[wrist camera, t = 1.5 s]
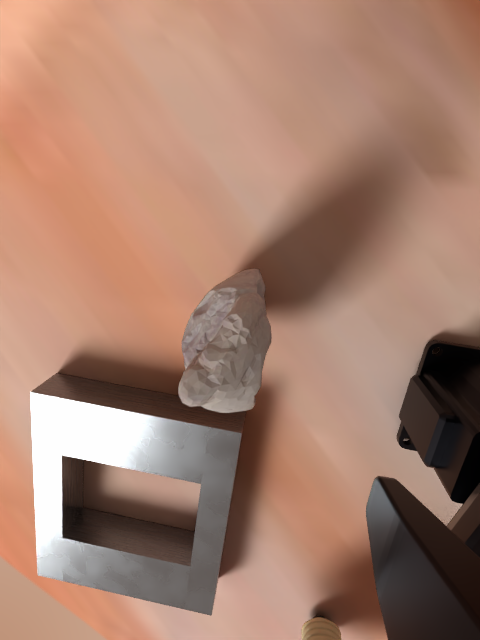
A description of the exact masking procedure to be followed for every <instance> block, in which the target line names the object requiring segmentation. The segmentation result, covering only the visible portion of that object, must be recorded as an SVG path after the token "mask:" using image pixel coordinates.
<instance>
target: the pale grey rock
mask: <svg viewBox="0 0 480 640" xmlns="http://www.w3.org/2000/svg"><path fill="white" fill-rule="evenodd" d="M264 292H265V284H264V282H263V279H262V276H261V273H260V270H258V269H248V270H244V271H241V272H239V273H237V274H235V275H233V276H231V277H230V278H228V279H226V280H225V281H223V282H222V283H220V284H218V285H216V286H215V287H214V288H213V289H211V290H210V291H209V292H208V293H207V294H206V296H205V297H204V298H203V299H202V301H201V302H200V303H199V305H198V306H197V308H196V309H195V310H194V312H193V313H192V315H191V317H190V319H189V321H188V324H187V326H186V329H185V332H184V336H183V339H182V352H183V355H184V365H185V369H186V370H185V371H184V373H183V376H182V378H181V380H180V382H179V387H178V393H179V397H180V399H181V401H182V403H184V404H186V405H188V406H190V407H194V406H202V407H203V408H205V409H208V410H212V411H216V412H220V413H231V412H239V411H246V410H250V409H252V408H253V406H254V405H255V401H256V399H255V398H254V396H255V395H256V394H257V392H258V390H259V389H260V387H261V379H262V369H263V365H264V360H265V356H266V353H267V350H268V348H269V346H270V344H271V338H272V337H271V326H270V323H269V321H268V318H267V316H266V306H265V298H264Z"/></svg>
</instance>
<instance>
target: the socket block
mask: <svg viewBox="0 0 480 640" xmlns="http://www.w3.org/2000/svg"><path fill="white" fill-rule="evenodd" d="M30 397H31V422H32V447H33V472H34V497H35V522H36V547H37V572H38V575H39V576H44V577H48V578H52V579H56V580H61V581H65V582H69V583H74V584H78V585H82V586H87V587H91V588H95V589H99V590H104V591H108V592H112V593H117V594H121V595H125V596H130V597H134V598H138V599H142V600H147V601H151V602H155V603H160V604H164V605H168V606H172V607H177V608H181V609H185V610H190V611H194V612H198V613H203V614H207V615H212V610H213V605H214V599H215V594H216V588H217V583H218V577H219V571H220V565H221V559H222V553H223V547H224V541H225V535H226V529H227V523H228V517H229V511H230V505H231V499H232V493H233V487H234V481H235V475H236V469H237V463H238V457H239V451H240V445H241V439H242V433H243V427H244V421H245V415H246V411H239V412H231V413H220V412H216V411H212V410H208V409H205V408H203V407H202V406H194V407H190V406H188V405H186V404H184V403H182V401H181V399H180V397H179V396H175V395H170V394H165V393H159V392H154V391H149V390H144V389H138V388H133V387H128V386H122V385H117V384H112V383H107V382H101V381H96V380H91V379H86V378H80V377H75V376H70V375H64V374H59V373H56V374H55V375H53V376H52V377H51V378H49V379H48V380H46V381H45V382H44V383H42V384H41V385H40V386H38V387H37V388H35V389H34V390H33V391H31V392H30ZM83 460H88V461H93V462H98V463H103V464H108V465H112V466H117V467H122V468H127V469H132V470H137V471H142V472H146V473H151V474H156V475H161V476H166V477H171V478H175V479H180V480H185V481H190V482H195V483H200V484H201V489H200V497H199V504H198V512H197V520H196V527H195V532H193V531H188V530H184V529H179V528H174V527H170V526H165V525H161V524H156V523H151V522H147V521H142V520H137V519H133V518H128V517H124V516H119V515H114V514H110V513H105V512H100V511H96V510H91V509H87V508H83Z"/></svg>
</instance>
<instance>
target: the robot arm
mask: <svg viewBox="0 0 480 640" xmlns="http://www.w3.org/2000/svg"><path fill="white" fill-rule="evenodd" d="M437 347H439V348H440V350H439V352H438V353H436V354H433V353H432V351H433V349H435V348H437ZM399 418H400V420H401V424H400V427H399V430H398V433H397V441H398V443H399V445H400V446H401V447H402V448H405V449H409V450H414V451H418V453H419V455H420V457H421V459H422V461H423V462H424V464H425V465H426V466H427V467H431V468H434V470H435V472H436V473H437V475H438V477H439V479H440V480H441V482H442V484H443V486H444V488H445V489H446V491H447V493H448V495H449V497H450V498H451V500H452V501H454V502H456V503H461V504H463V505H462V506H461V508H460V509H459V510H458V512H457V513H456V514H455V516H454V517H453V518H452V520H451V521H450V522H449V524H448V525H447V526H445V525H444V524H443V523H442V522H441V521H440V520H439V519H438V518H437V517H436V516H435V515H434V514H433V513H432V512H431V511H429V510H428V509H427V508H426V507H425V506H424V505H423V504H422V503H421V502H420V501H419V500H418V499H417V498H416V497H415V496H413V495H412V494H411V493H410V492H409V491H408V490H407V489H406V488H405V487H404V486H403V485H402V484H401V483H400V482H398V481H397V480H396V479H394V478H389V477H382V476H378V477H376V478H375V479H374V482H373V485H372V488H371V492H370V495H369V498H368V502H367V506H366V518H367V526H368V533H369V540H370V548H371V555H372V563H373V570H374V577H375V583H376V590H377V594H378V599H379V604H380V608H381V612H382V616H383V620H384V624H385V629H386V633H387V637H388V640H480V348H479V347H473V346H468V345H462V344H456V343H450V342H444V341H438V340H433V341H431V342H429V343H428V344H427V345H426V346H425V349H424V352H423V355H422V358H421V361H420V364H419V367H418V371H417V374H416V375H414V376H413V377H412V378H411V379H410V382H409V385H408V389H407V392H406V395H405V398H404V401H403V405H402V408H401V411H400V414H399ZM405 438H410V439H409V440H408V441H403V440H404V439H405Z"/></svg>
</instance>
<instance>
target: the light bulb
mask: <svg viewBox="0 0 480 640" xmlns="http://www.w3.org/2000/svg"><path fill="white" fill-rule="evenodd" d="M301 633H302V640H341V633H340V630H339V628H338V626H337V625H336V624H335V623H333V622H332V621H329V620H328V619H326V618H325V617H323V616H315V617H314V618H313V619H311V620H309V621H307V622H306V623H304V625H303V627H302V630H301Z"/></svg>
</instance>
